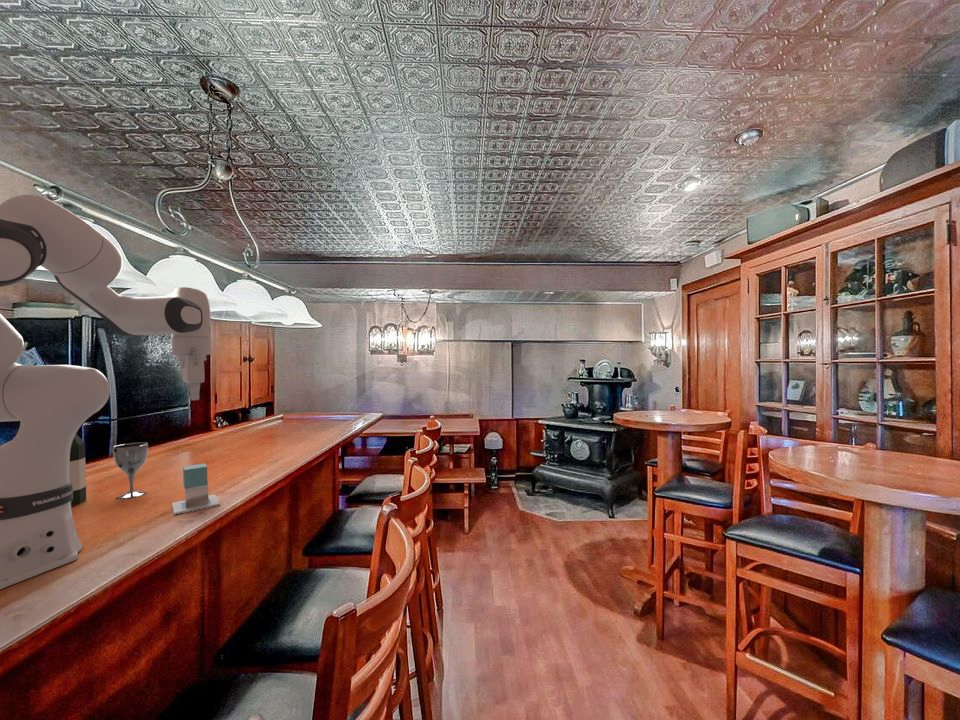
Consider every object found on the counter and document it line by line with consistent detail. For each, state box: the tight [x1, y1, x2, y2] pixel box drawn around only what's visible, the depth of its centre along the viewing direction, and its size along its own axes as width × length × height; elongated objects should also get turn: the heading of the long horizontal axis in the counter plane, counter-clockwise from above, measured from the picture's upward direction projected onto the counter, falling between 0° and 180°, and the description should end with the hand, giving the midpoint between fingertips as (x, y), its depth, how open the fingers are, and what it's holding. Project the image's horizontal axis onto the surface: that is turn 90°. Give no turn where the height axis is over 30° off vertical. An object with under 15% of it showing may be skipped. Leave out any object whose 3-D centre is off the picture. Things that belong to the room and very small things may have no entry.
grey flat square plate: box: [171, 494, 221, 516], centre depth 109 cm, size 10×10×1 cm
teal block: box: [182, 462, 209, 490], centre depth 109 cm, size 5×5×5 cm
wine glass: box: [112, 441, 149, 500], centre depth 119 cm, size 8×8×15 cm
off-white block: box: [184, 480, 209, 507], centre depth 110 cm, size 5×5×5 cm
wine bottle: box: [69, 433, 87, 507], centre depth 113 cm, size 8×8×30 cm
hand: (193, 399), depth 109 cm, fingers open, 8 cm apart
